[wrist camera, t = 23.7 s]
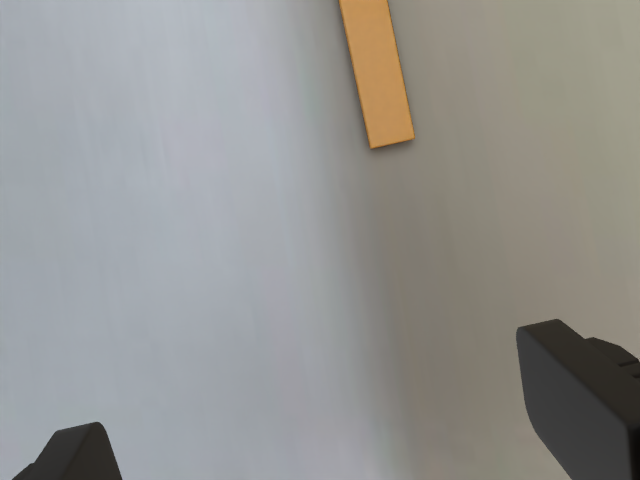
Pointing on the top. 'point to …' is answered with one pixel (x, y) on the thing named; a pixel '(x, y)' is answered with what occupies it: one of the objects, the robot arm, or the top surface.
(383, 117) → the brush
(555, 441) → the robot arm
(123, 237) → the top surface
